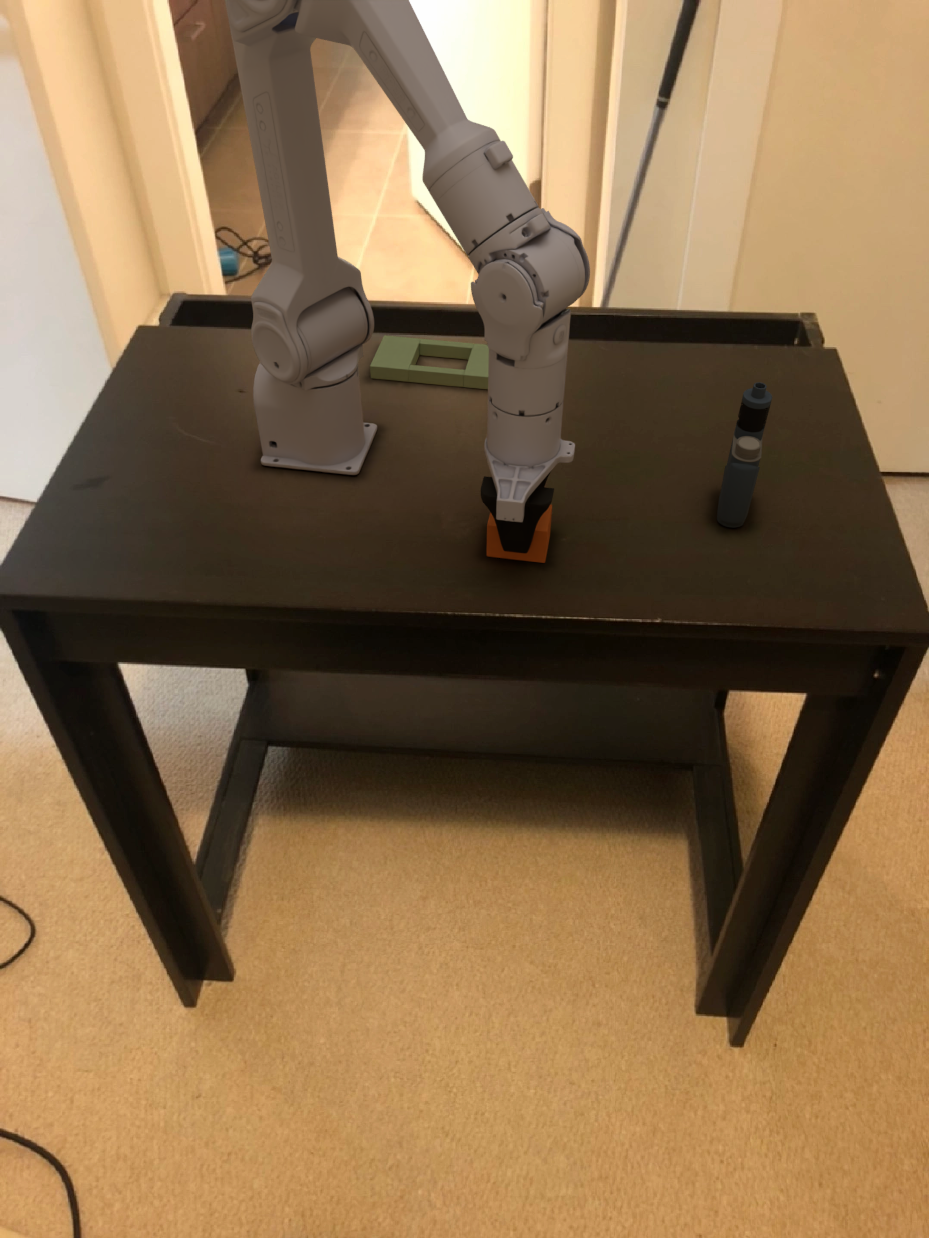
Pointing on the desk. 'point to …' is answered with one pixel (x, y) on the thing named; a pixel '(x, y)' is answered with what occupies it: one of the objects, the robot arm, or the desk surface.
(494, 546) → the orange rectangular block
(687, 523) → the desk surface
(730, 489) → the vaping device
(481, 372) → the base pad
